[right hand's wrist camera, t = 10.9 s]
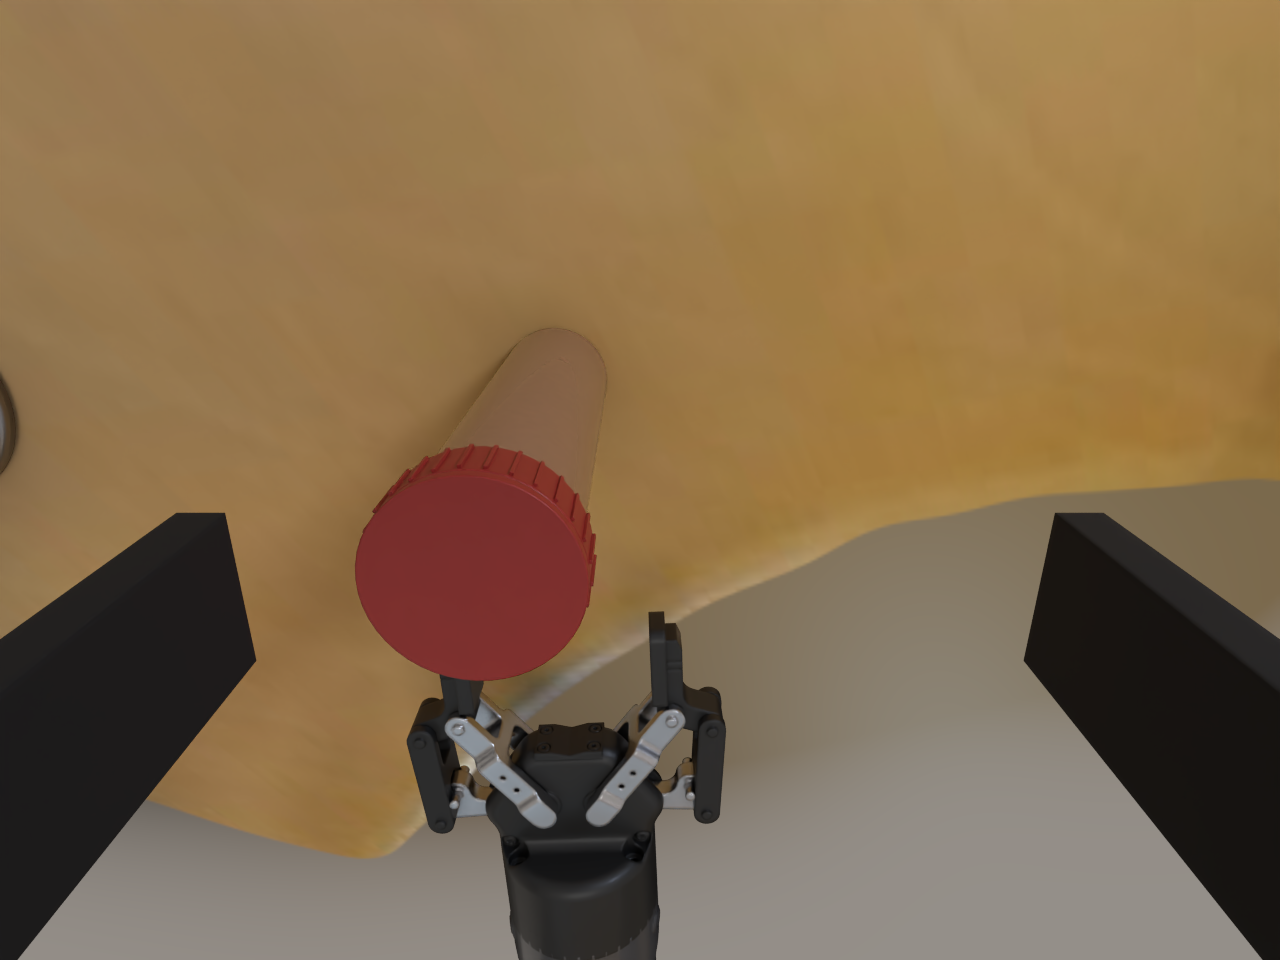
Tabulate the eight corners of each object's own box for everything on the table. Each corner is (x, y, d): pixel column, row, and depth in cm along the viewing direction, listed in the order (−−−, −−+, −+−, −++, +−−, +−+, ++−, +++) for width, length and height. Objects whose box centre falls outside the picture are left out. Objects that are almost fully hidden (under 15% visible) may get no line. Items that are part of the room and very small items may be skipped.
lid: (511, 672, 22) (499, 722, 20) (337, 557, 20) (305, 597, 18) (640, 532, 20) (641, 571, 18) (461, 396, 19) (440, 422, 17)
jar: (564, 447, 37) (498, 691, 20) (484, 385, 36) (337, 586, 19) (627, 372, 36) (616, 563, 18) (546, 306, 35) (450, 441, 17)
